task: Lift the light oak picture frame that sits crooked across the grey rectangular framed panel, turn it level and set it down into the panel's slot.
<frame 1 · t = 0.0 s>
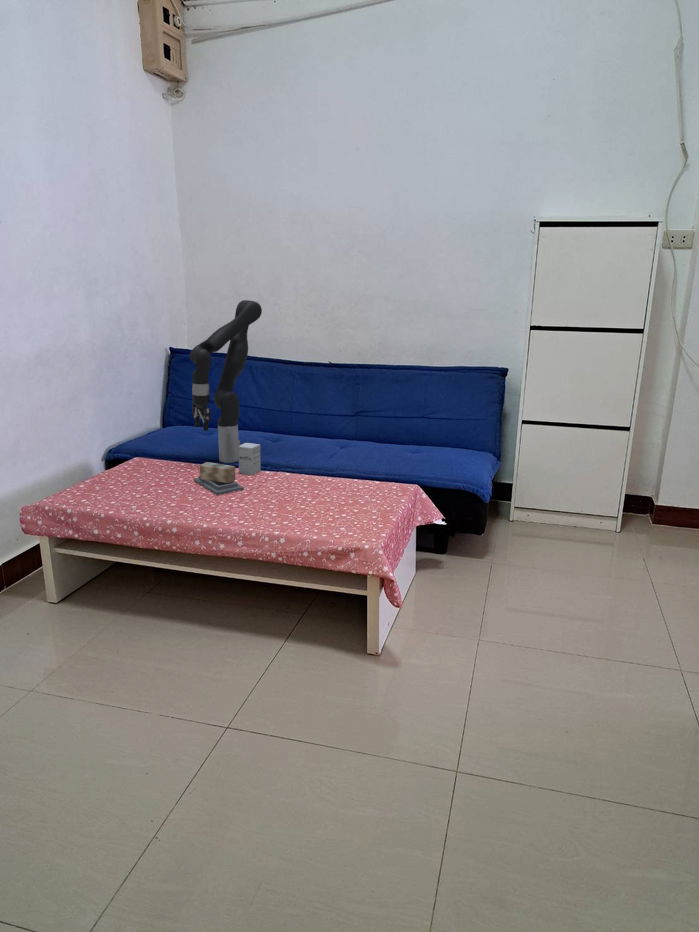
hand: (201, 428, 299), 17 cm above the table, tool pointing down, fingers open, 8 cm apart
supplement box: (250, 472, 295), on the table
grey rectangular framed panel: (218, 485, 276), on the table
oak frame: (217, 479, 276), point 3 cm above the table, touching grey rectangular framed panel
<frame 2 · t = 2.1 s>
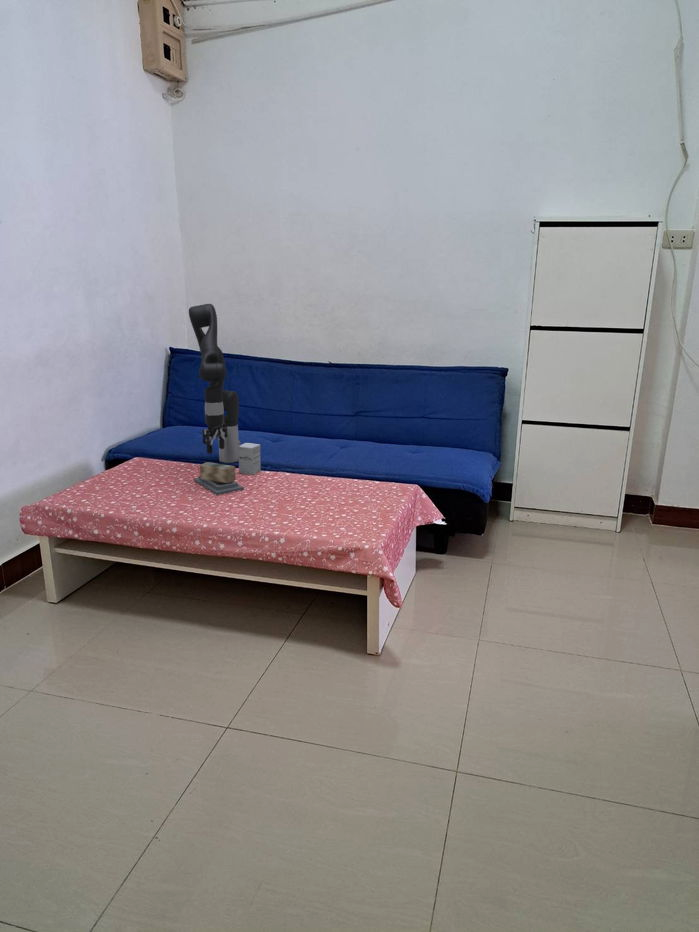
hand: (215, 451, 272), 15 cm above the table, tool pointing down, fingers open, 8 cm apart
nothing on the table moved.
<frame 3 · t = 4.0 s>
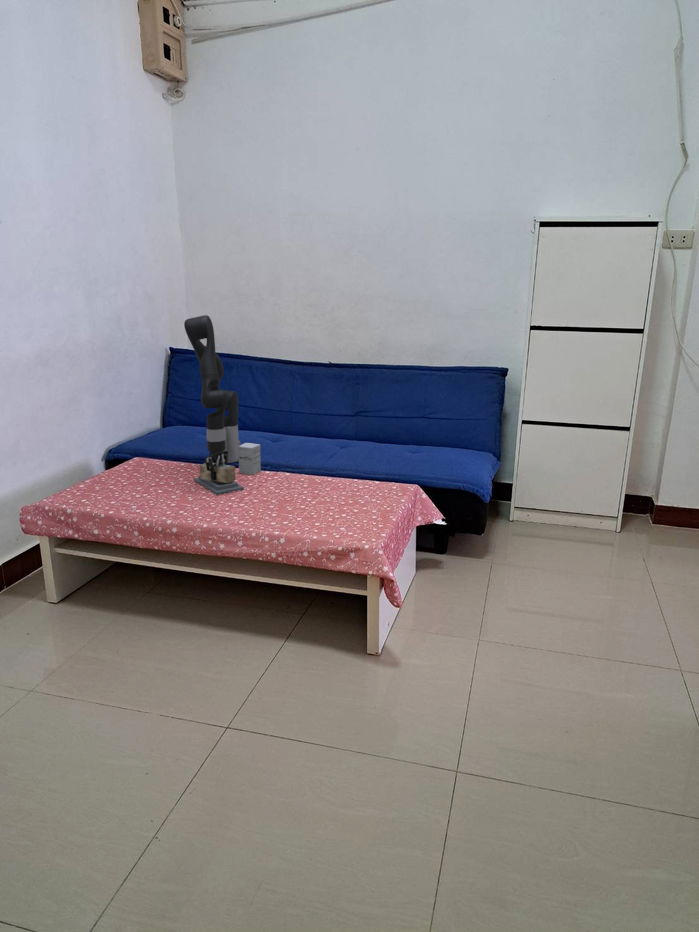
hand: (217, 477, 275), 3 cm above the table, tool pointing down, fingers closed on oak frame, 5 cm apart
oak frame: (217, 479, 276), point 3 cm above the table, touching grey rectangular framed panel, gripper
everything else where it was.
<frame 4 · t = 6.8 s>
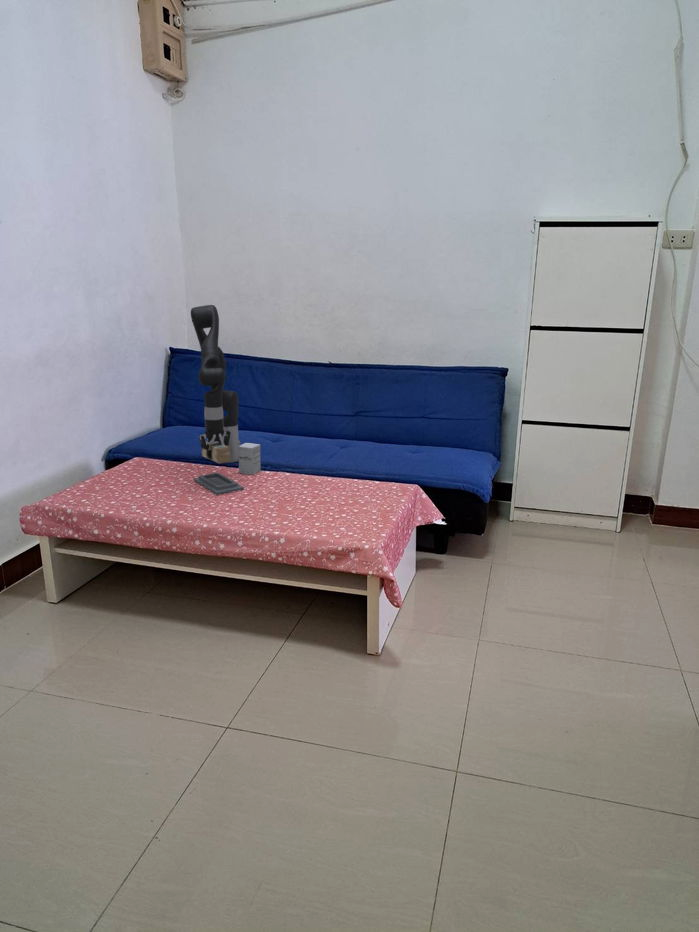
hand: (215, 457, 273), 12 cm above the table, tool pointing down, fingers closed on oak frame, 5 cm apart
oak frame: (215, 458, 273), point 12 cm above the table, touching gripper
everything else where it was.
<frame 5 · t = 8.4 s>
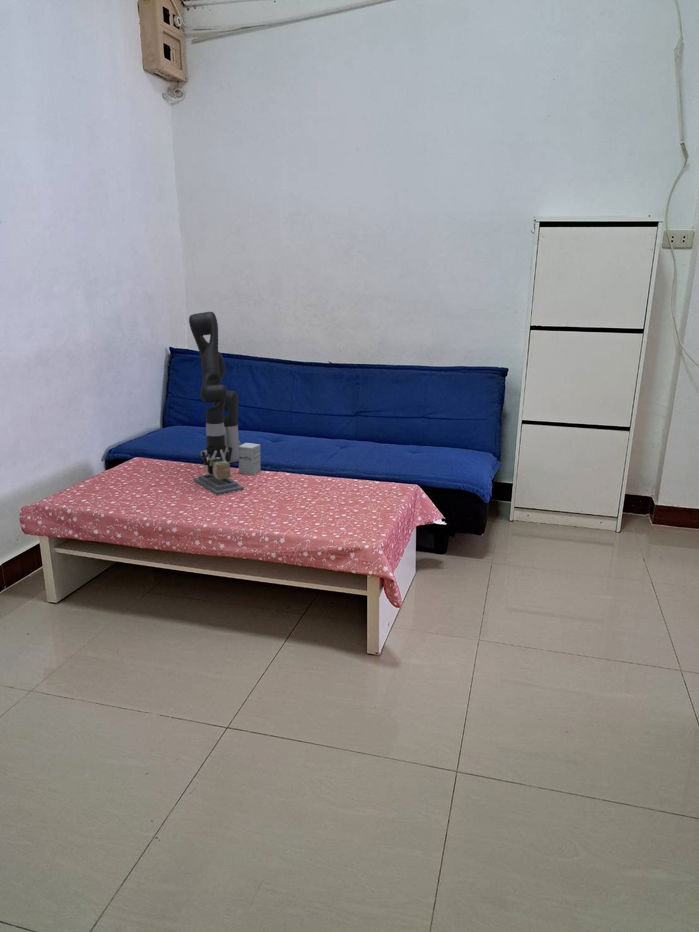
hand: (217, 472, 275), 6 cm above the table, tool pointing down, fingers closed on oak frame, 5 cm apart
oak frame: (217, 474, 275), point 5 cm above the table, touching gripper
everything else where it was.
when the fingers open (4 cm above the table, at t = 9.8 s): oak frame drops 2 cm, resting on grey rectangular framed panel.
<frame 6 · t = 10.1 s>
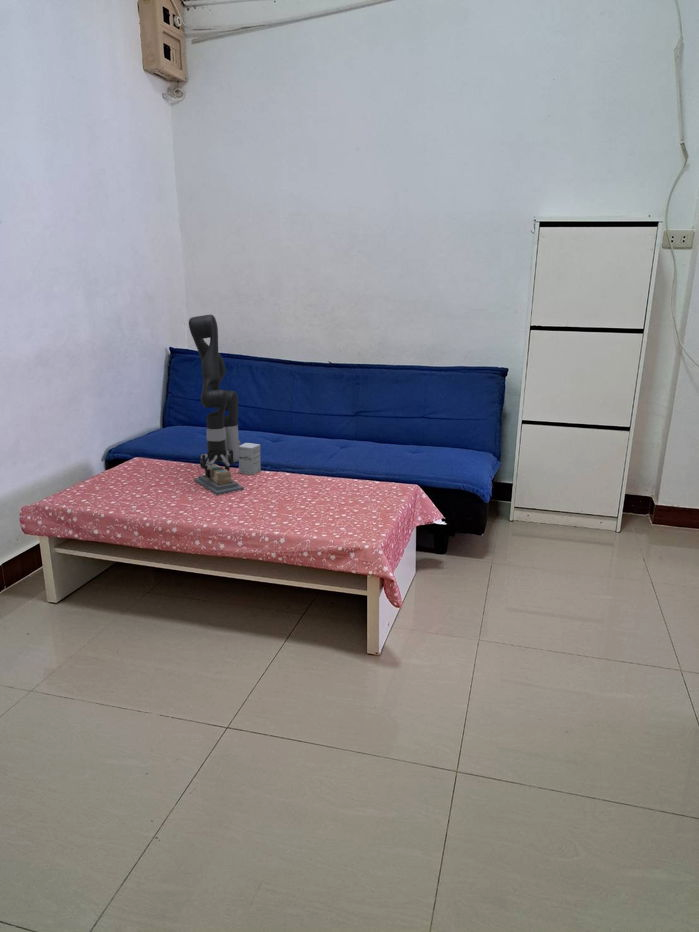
hand: (217, 475, 275), 4 cm above the table, tool pointing down, fingers open, 8 cm apart
oak frame: (218, 482, 276), point 1 cm above the table, touching grey rectangular framed panel
everything else where it was.
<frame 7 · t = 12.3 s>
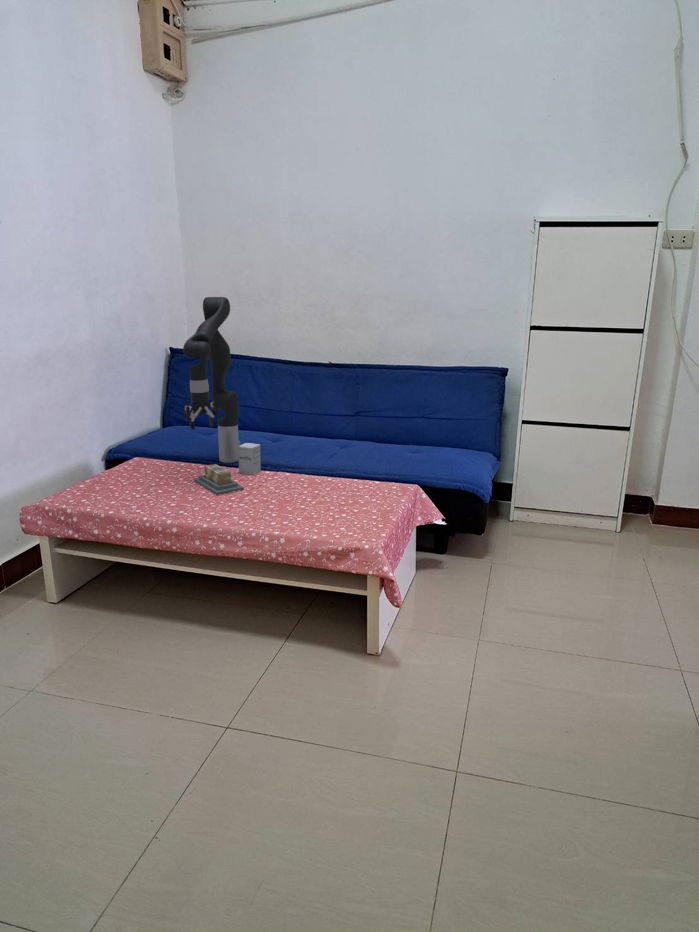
hand: (202, 428, 277), 23 cm above the table, tool pointing down, fingers open, 8 cm apart
nothing on the table moved.
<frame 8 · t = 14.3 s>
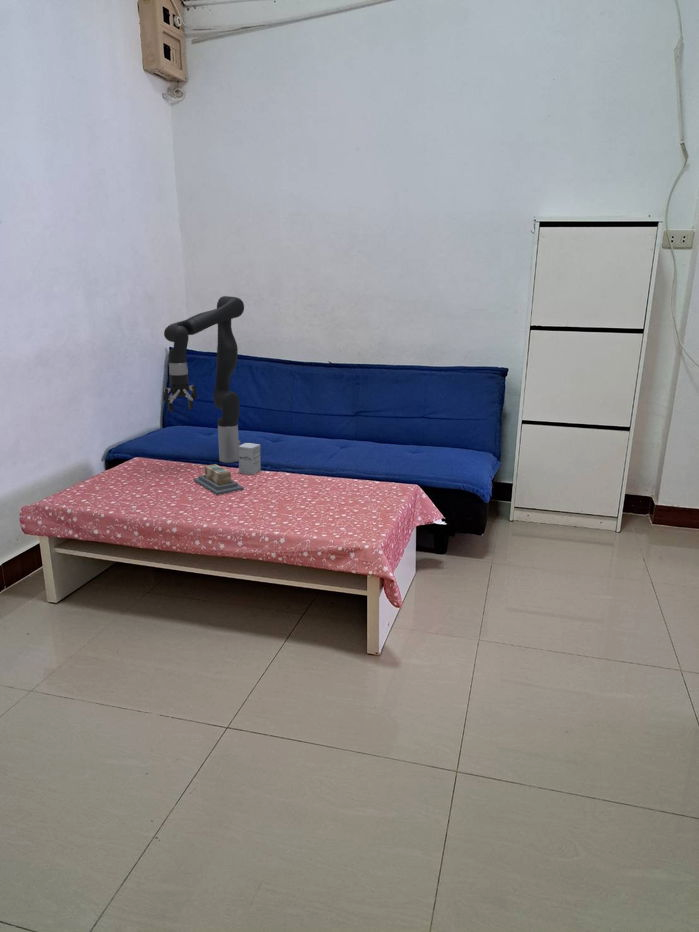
hand: (180, 410, 285), 28 cm above the table, tool pointing down, fingers open, 8 cm apart
nothing on the table moved.
at the end: oak frame 0.0 cm off-centre on the grey rectangular framed panel, point 1.2 cm above the grey rectangular framed panel's base; oak frame tilted 0°; the gripper is holding nothing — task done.
